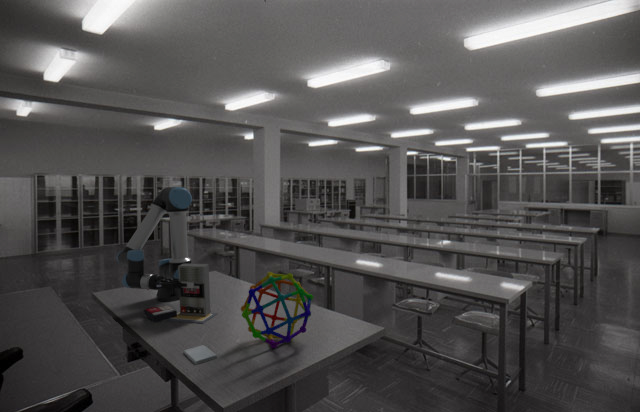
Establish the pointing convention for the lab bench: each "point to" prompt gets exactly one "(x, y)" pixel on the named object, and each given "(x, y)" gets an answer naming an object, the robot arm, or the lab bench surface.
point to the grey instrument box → (194, 289)
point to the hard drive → (200, 354)
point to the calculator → (160, 313)
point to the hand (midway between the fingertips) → (194, 284)
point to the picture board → (191, 318)
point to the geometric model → (289, 320)
